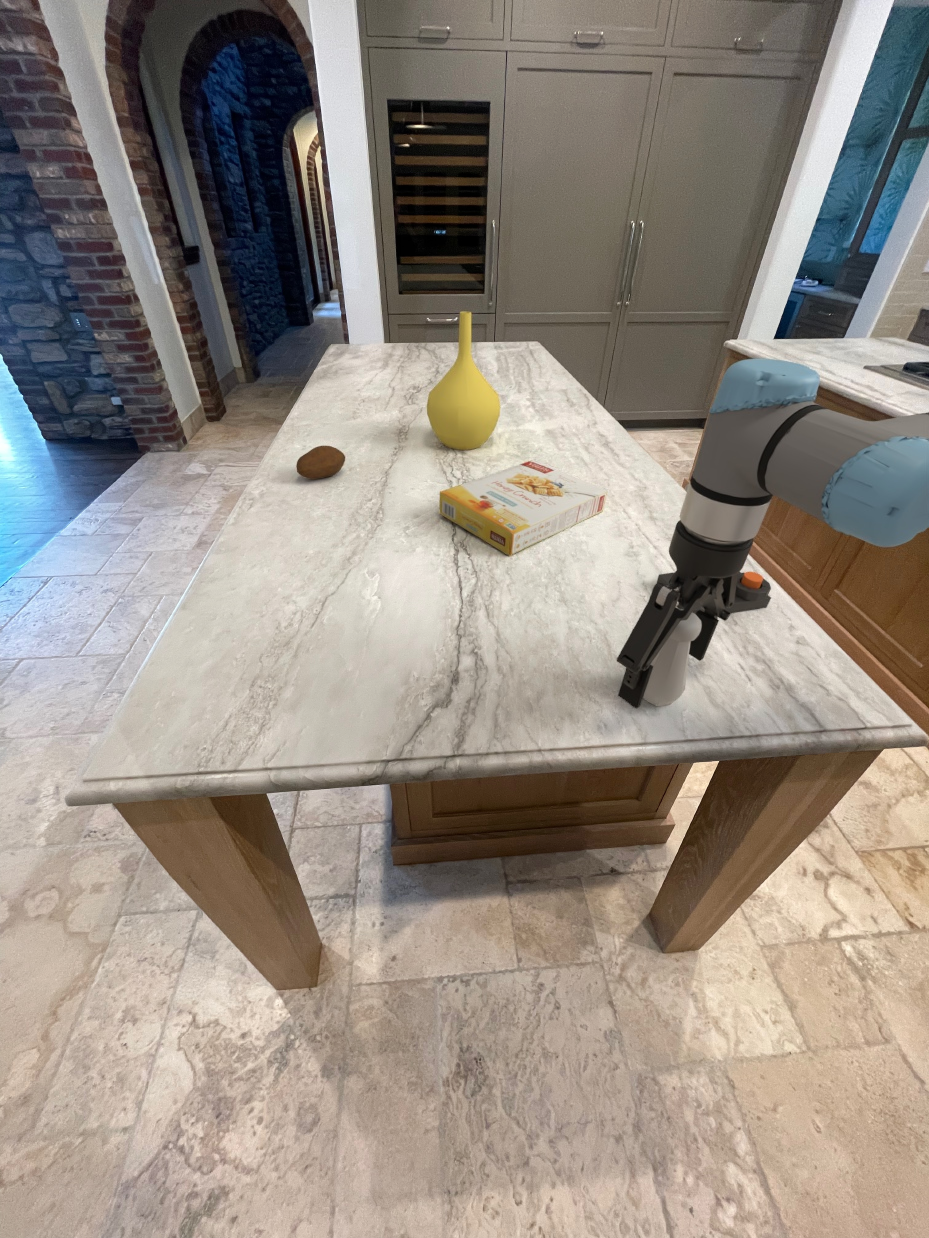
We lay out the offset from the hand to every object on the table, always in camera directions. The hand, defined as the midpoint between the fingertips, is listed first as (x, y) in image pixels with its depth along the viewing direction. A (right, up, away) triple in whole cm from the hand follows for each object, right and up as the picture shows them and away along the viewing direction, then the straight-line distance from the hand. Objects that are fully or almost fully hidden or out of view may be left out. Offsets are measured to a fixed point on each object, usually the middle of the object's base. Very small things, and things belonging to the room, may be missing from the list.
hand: (662, 676), depth 68 cm
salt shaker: (0, -3, +2) cm, 3 cm away
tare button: (+20, +13, +17) cm, 29 cm away
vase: (-26, +53, +71) cm, 92 cm away
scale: (+15, +11, +20) cm, 27 cm away
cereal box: (-13, +28, +41) cm, 51 cm away
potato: (-57, +39, +53) cm, 87 cm away
